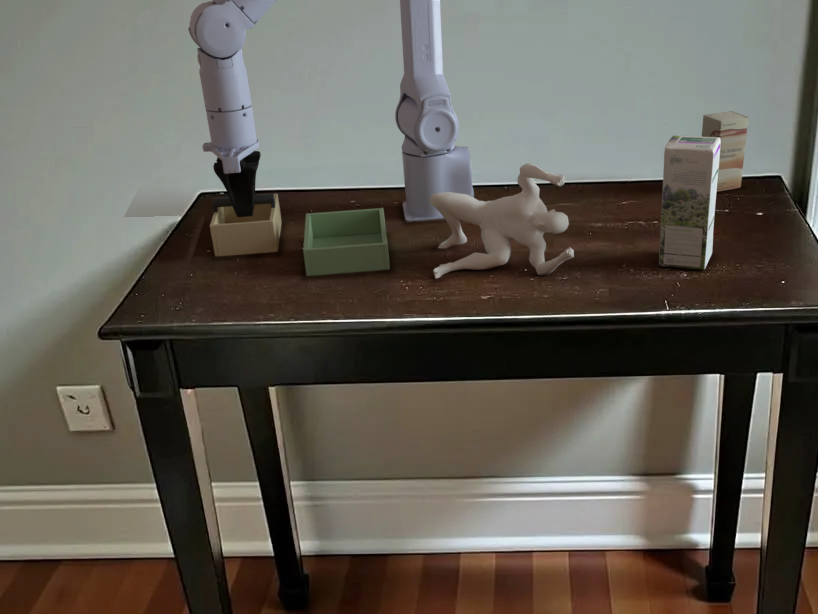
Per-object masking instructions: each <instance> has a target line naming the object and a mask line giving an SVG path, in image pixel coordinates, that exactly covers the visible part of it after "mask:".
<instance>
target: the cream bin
mask: <svg viewBox="0 0 818 614" xmlns="http://www.w3.org/2000/svg"><path fill="white" fill-rule="evenodd" d="M211 204H212V210H213V215H212V217H211V220H210V224H209V230H210V231H209V232H210V237H211V242H212V246H213V252H214V253H213V254H214V257H226V256H227V257H229V256H241V255H252V254H266V253H278V251H279V245H280V237H281V231H282V223H283V222H282V214H281V208H280V201H279V194H278V193H266V194H265V193H264V194H255V195H254V205H255V207H254V211H253V216H248V217H237V215H236V213H235V211H234V209H233V206H232V203H231V201H230V198H229V196H225V197H223V196H222V197H213V198H212V199H211Z"/></svg>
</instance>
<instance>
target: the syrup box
mask: <svg viewBox="0 0 818 614" xmlns="http://www.w3.org/2000/svg"><path fill="white" fill-rule="evenodd" d="M720 144H721V139H720V138H719V137H702V136H695V135H694V136H692V135H672V136H671V137H670V139H669V140H668V141H667V143H666V145H665V146H664V152H663V174H662V175H663V176H662V193H661V212H660V233H659V235H660V238H659V254H658V266H659V267H667V268H679V269H690V270H703V271H704V270H706V267H707V265H708V263H709V261H710V259H711V257H712V255H713V246H714V245H713V244H714V229H715V228H714V226H715V212H716V203H717V201H716V200H717V192H716V191H717V180H718V169H719V158H720Z"/></svg>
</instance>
